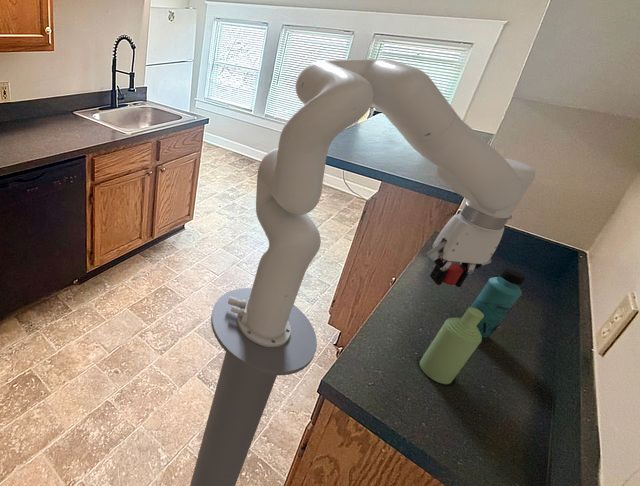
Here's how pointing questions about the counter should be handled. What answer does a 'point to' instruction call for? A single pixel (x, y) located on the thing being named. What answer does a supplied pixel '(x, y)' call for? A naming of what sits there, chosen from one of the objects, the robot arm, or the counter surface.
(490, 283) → the beverage bottle
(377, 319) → the counter surface
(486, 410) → the counter surface
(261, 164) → the robot arm
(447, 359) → the sauce bottle
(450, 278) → the cap
